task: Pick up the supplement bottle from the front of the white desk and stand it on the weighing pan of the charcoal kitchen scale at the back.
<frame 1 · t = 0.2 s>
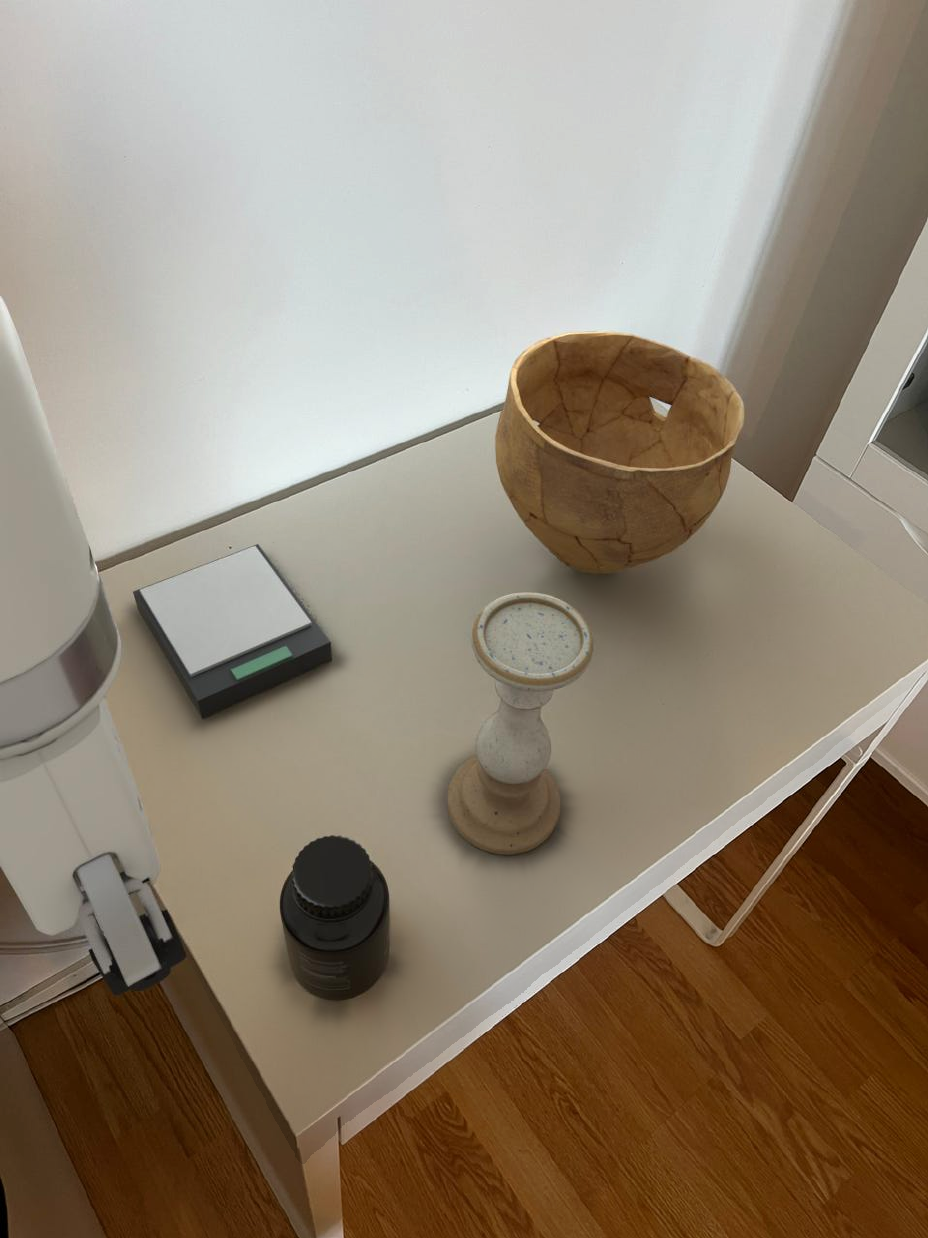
hand: (111, 882, 42), 23 cm above the table, tool pointing down, fingers open, 9 cm apart
candle holder: (502, 806, 72), on the table
scale: (233, 635, 82), on the table
bowl: (586, 564, 91), on the table
supplement bottle: (339, 954, 64), on the table
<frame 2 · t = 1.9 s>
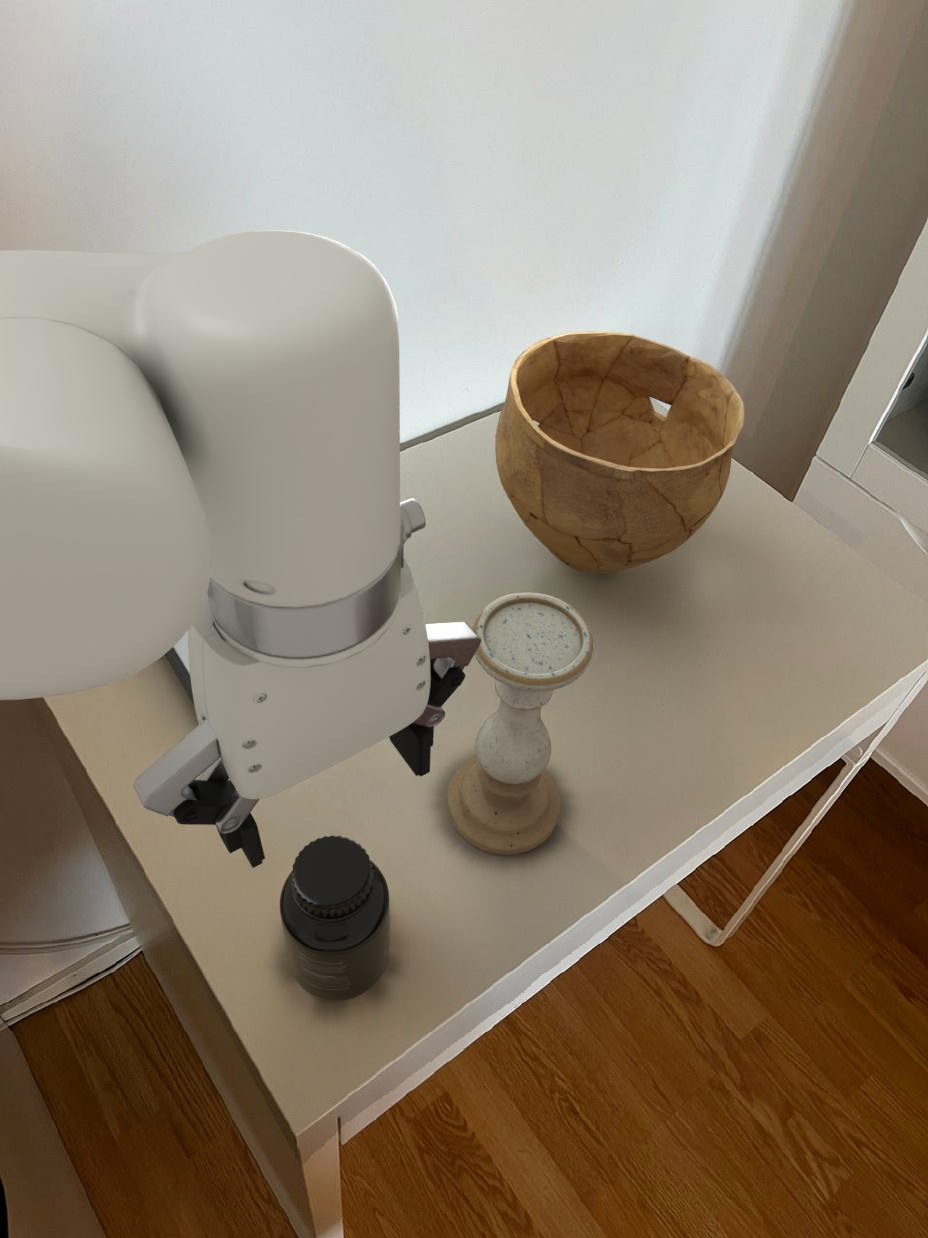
hand: (330, 797, 49), 20 cm above the table, tool pointing down, fingers open, 9 cm apart
nothing on the table moved.
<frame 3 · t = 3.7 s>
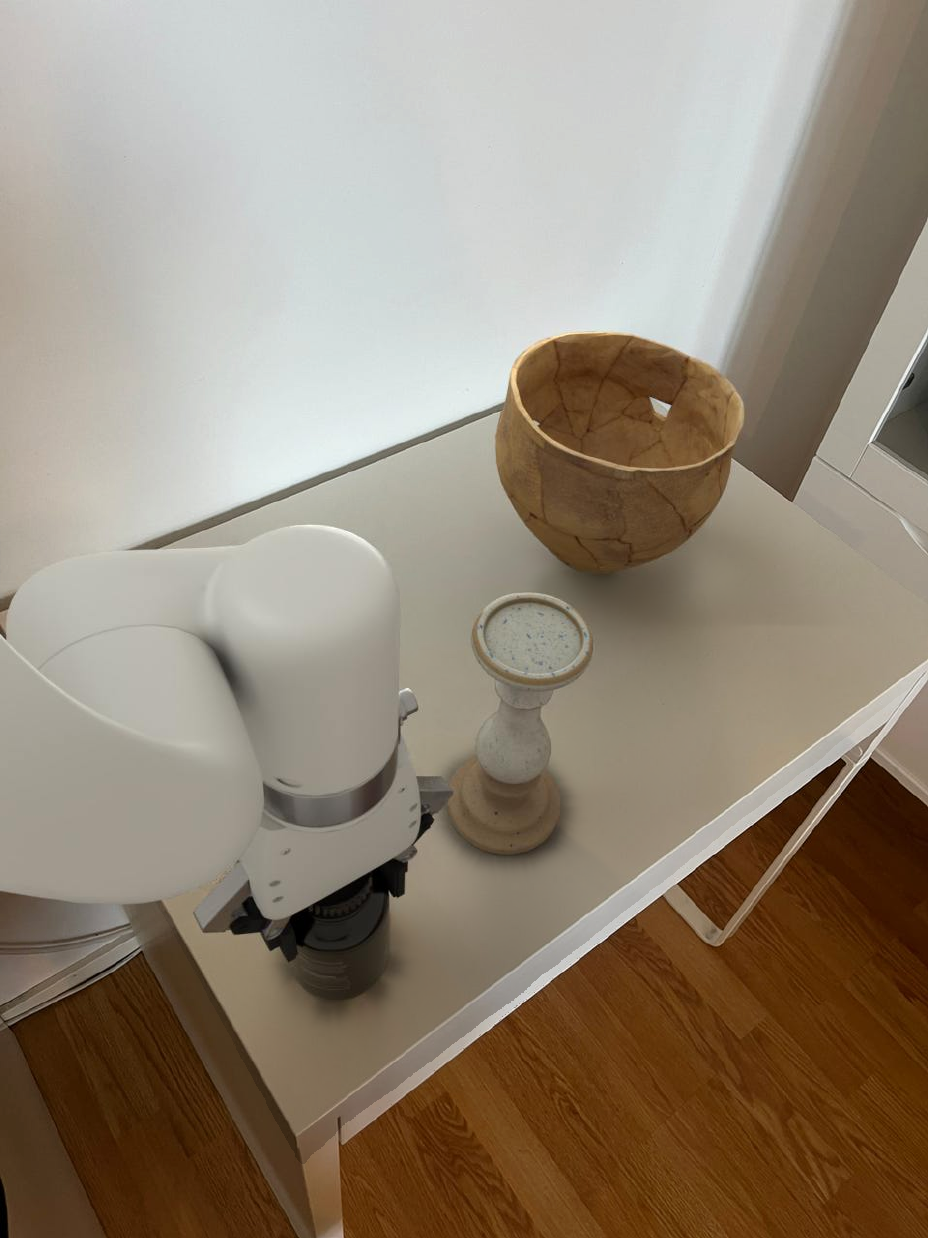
hand: (335, 907, 58), 7 cm above the table, tool pointing down, fingers closed on supplement bottle, 6 cm apart
supplement bottle: (339, 954, 64), on the table, touching gripper
everything else where it was.
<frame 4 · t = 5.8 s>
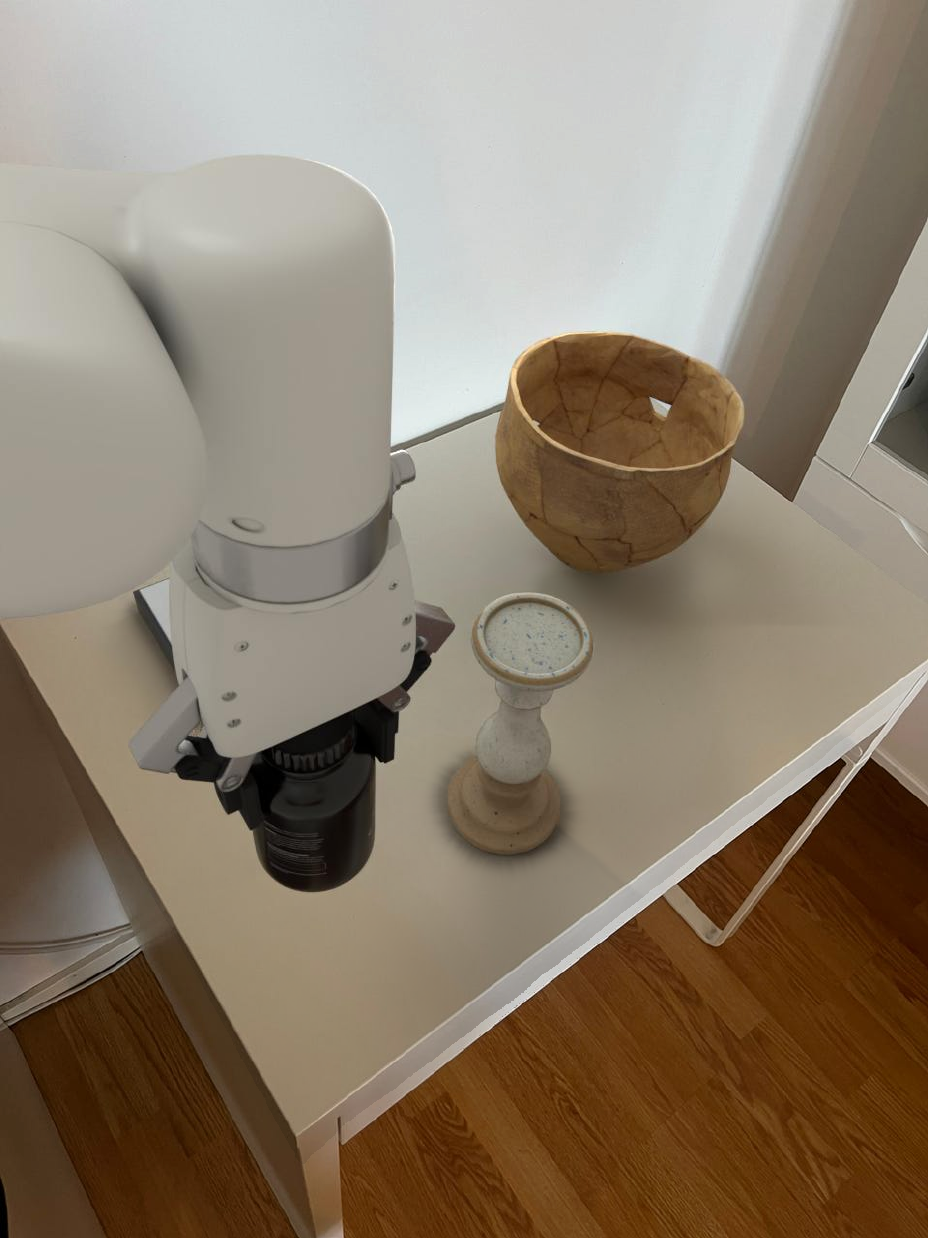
hand: (310, 772, 48), 21 cm above the table, tool pointing down, fingers closed on supplement bottle, 6 cm apart
supplement bottle: (316, 842, 54), point 14 cm above the table, touching gripper
everything else where it was.
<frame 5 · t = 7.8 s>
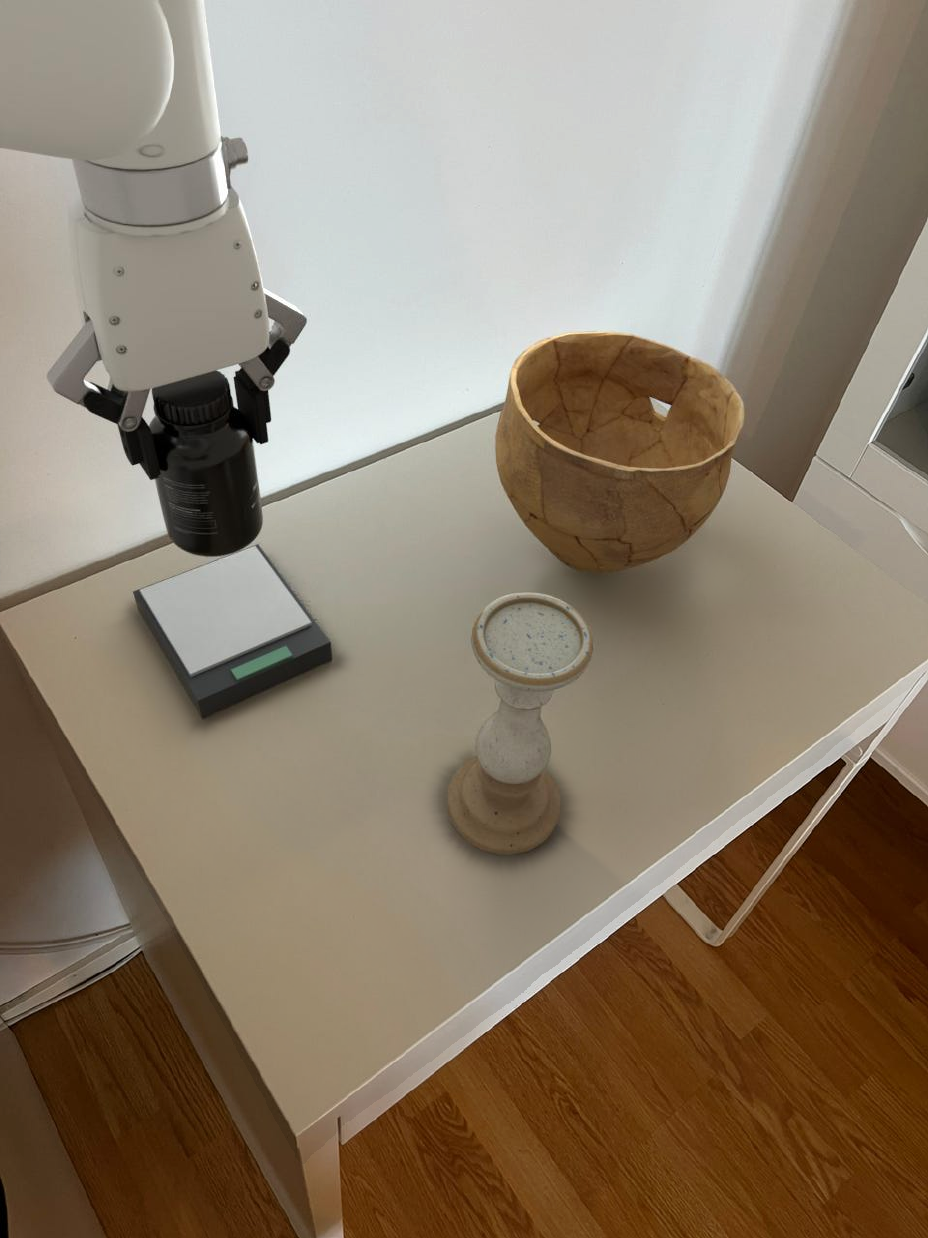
hand: (201, 447, 62), 24 cm above the table, tool pointing down, fingers closed on supplement bottle, 6 cm apart
supplement bottle: (216, 529, 67), point 16 cm above the table, touching gripper
everything else where it was.
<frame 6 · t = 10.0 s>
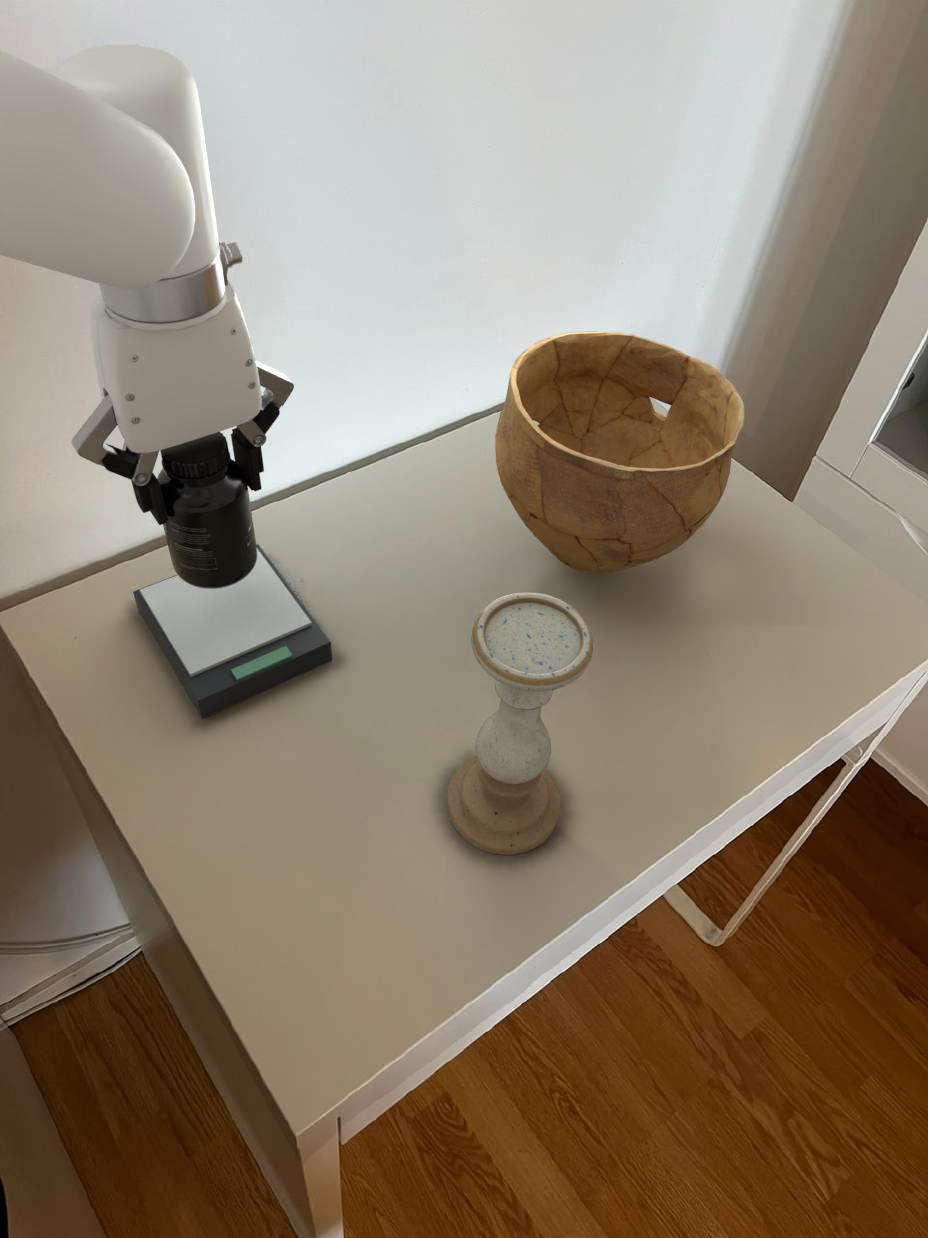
hand: (203, 495, 71), 15 cm above the table, tool pointing down, fingers closed on supplement bottle, 6 cm apart
supplement bottle: (216, 563, 77), point 8 cm above the table, touching gripper
everything else where it was.
when the fingers open (10 cm above the table, at t = 11.8 s): supplement bottle stays where it is, resting on scale.
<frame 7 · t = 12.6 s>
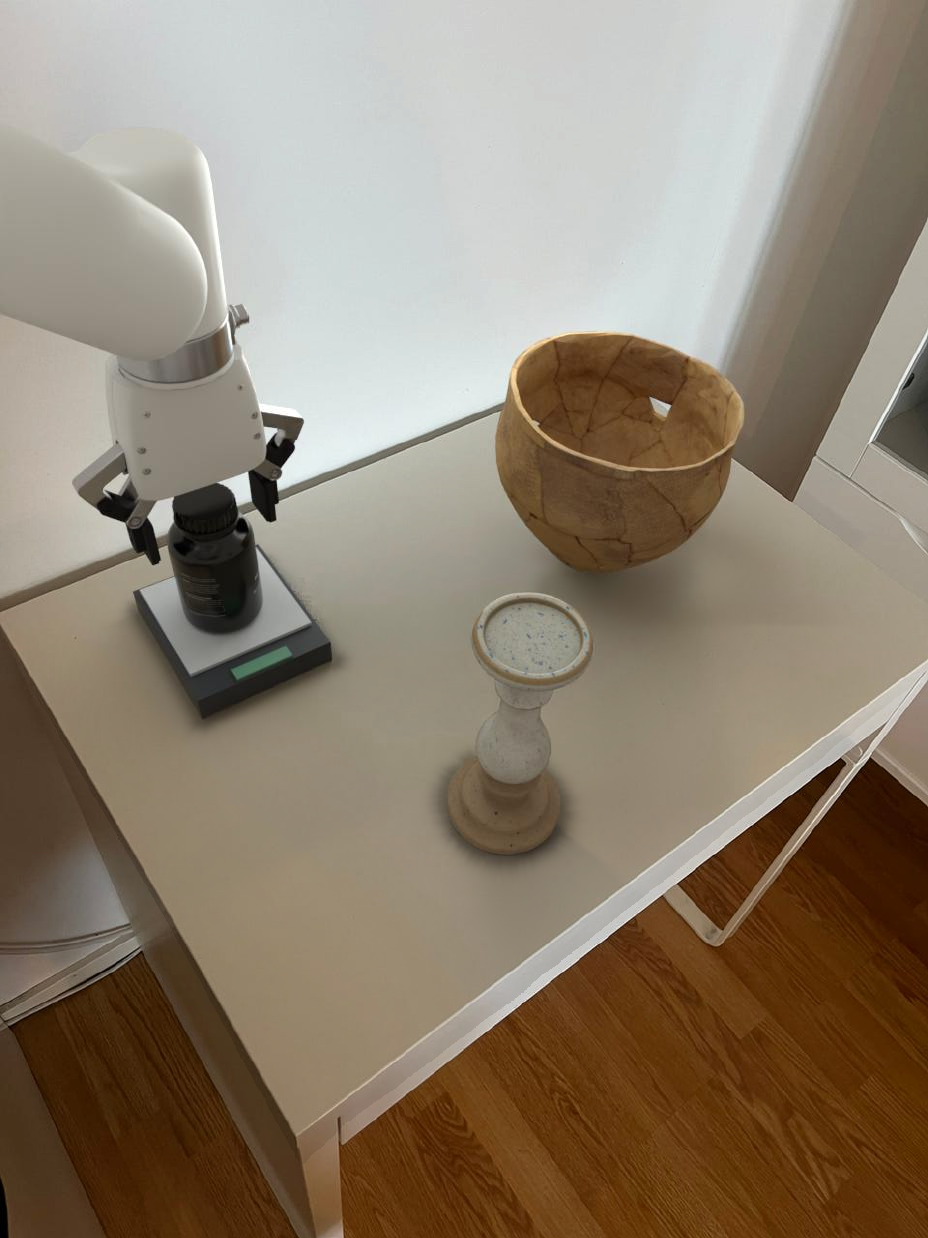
hand: (208, 532, 74), 12 cm above the table, tool pointing down, fingers open, 9 cm apart
supplement bottle: (224, 608, 80), point 3 cm above the table, touching scale
everything else where it was.
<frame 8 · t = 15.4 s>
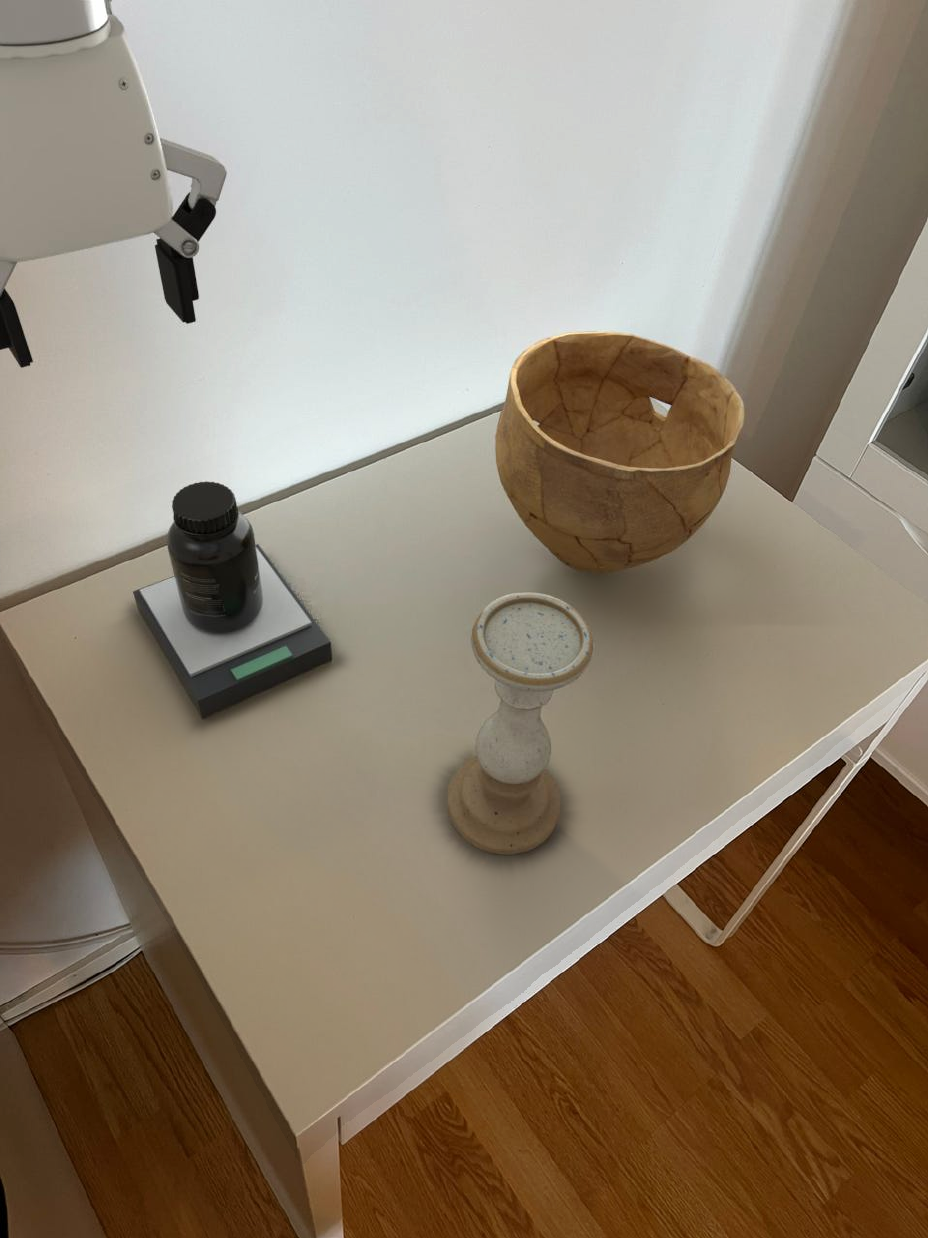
hand: (103, 332, 55), 32 cm above the table, tool pointing down, fingers open, 9 cm apart
nothing on the table moved.
at the end: supplement bottle inside the target area on the scale (0.1 cm from its centre), point 2.7 cm above the scale's base; supplement bottle tilted 0°; the gripper is holding nothing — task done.
